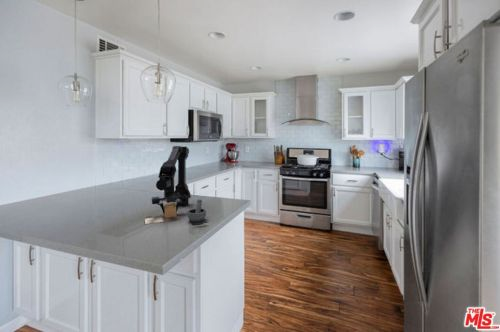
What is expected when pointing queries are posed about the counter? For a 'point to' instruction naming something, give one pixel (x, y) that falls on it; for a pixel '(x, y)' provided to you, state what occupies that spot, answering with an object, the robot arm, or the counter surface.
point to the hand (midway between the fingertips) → (170, 213)
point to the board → (159, 219)
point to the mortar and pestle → (197, 214)
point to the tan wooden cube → (170, 210)
